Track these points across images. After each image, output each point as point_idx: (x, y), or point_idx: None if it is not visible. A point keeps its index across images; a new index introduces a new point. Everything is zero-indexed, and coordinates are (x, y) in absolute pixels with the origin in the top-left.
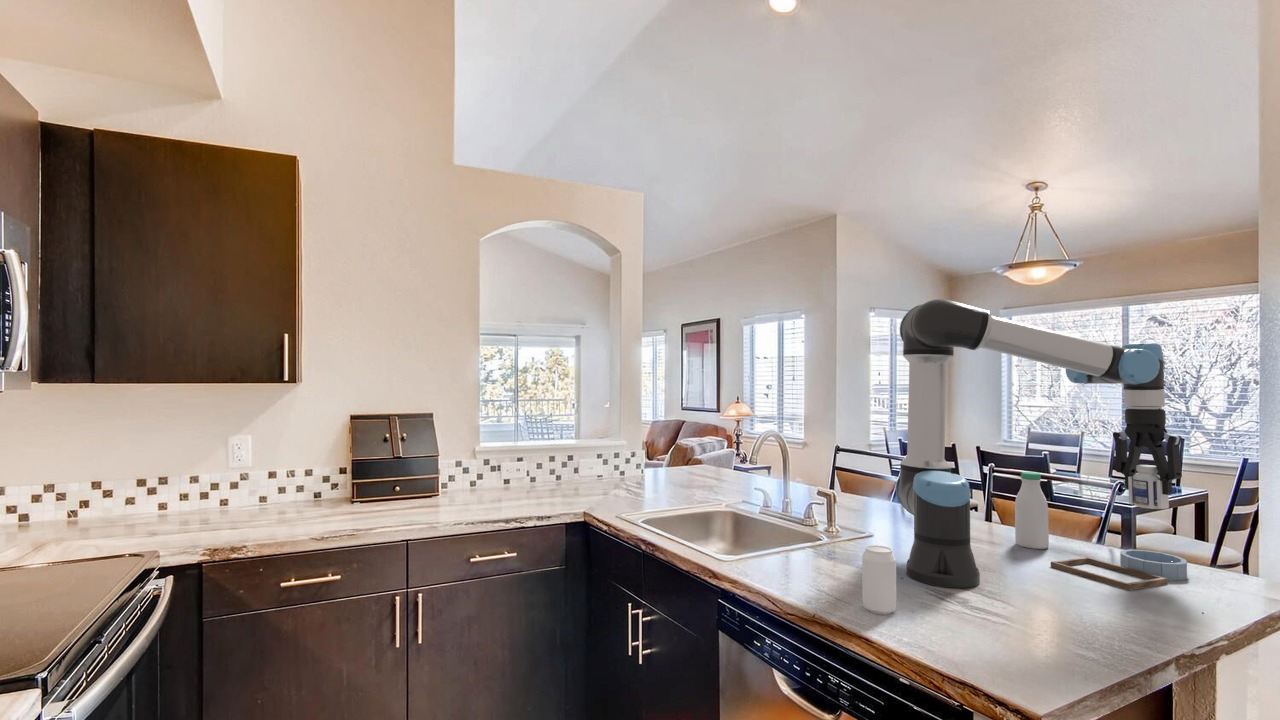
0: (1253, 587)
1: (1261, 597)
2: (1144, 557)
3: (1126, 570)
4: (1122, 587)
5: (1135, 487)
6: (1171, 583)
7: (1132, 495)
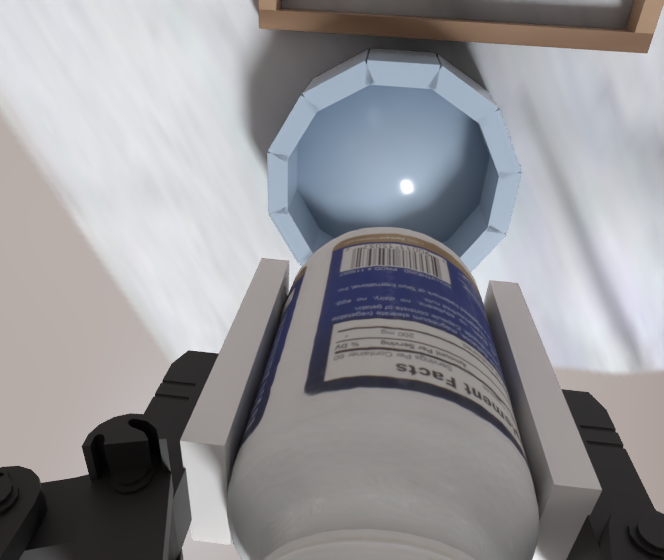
0: (154, 282)
1: (68, 183)
2: (453, 247)
3: (431, 19)
4: None
5: (458, 340)
6: (265, 56)
7: (503, 330)
